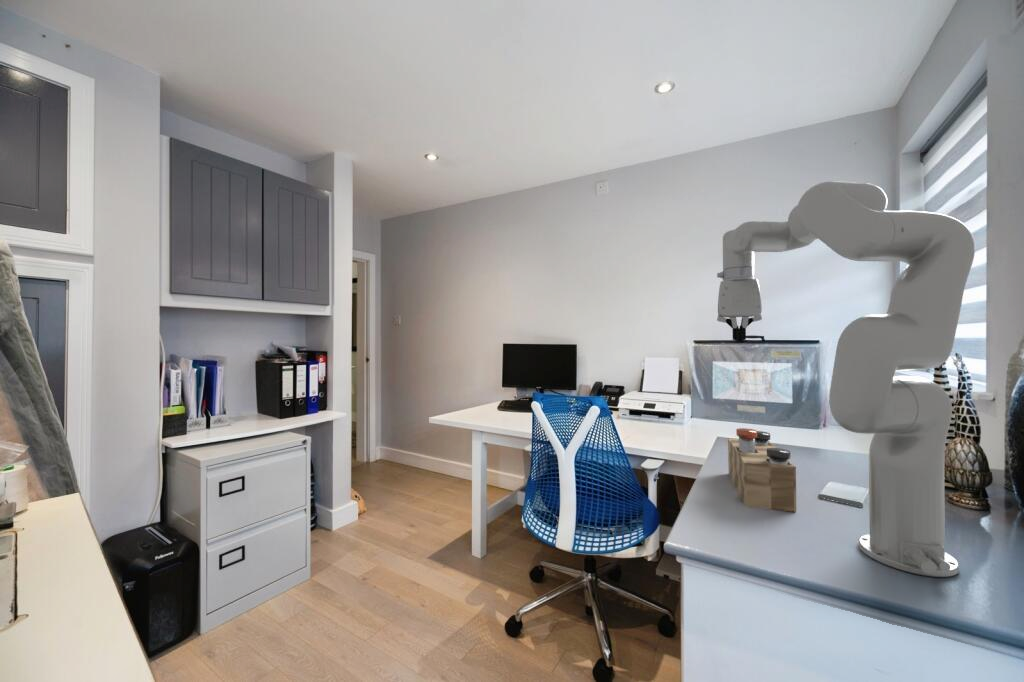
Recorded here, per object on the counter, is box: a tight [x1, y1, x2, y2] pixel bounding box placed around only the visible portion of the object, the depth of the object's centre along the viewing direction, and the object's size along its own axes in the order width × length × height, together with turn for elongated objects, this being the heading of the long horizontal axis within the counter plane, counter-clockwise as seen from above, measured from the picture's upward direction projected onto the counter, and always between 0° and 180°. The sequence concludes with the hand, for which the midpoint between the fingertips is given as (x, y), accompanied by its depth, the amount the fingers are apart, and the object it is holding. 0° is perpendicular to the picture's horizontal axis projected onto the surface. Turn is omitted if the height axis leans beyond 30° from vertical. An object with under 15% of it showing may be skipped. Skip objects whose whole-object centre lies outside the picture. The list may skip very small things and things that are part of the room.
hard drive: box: [818, 481, 869, 508], centre depth 100 cm, size 2×8×12 cm
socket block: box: [727, 438, 797, 513], centre depth 104 cm, size 24×10×10 cm, turn 160°
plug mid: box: [735, 427, 758, 453], centre depth 105 cm, size 5×5×12 cm
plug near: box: [767, 447, 791, 465], centre depth 95 cm, size 5×5×12 cm
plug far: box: [755, 430, 771, 445], centre depth 112 cm, size 5×5×12 cm
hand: (739, 342), depth 113 cm, fingers closed
